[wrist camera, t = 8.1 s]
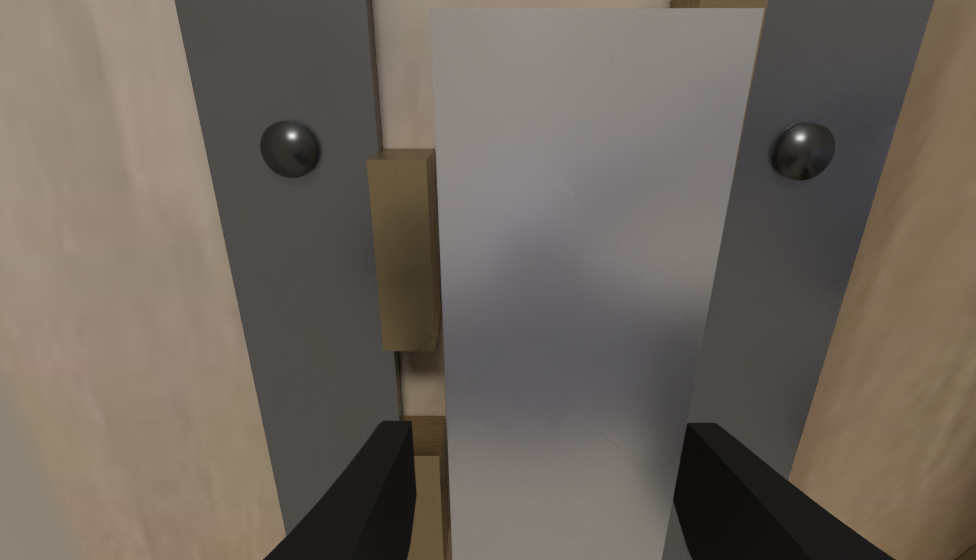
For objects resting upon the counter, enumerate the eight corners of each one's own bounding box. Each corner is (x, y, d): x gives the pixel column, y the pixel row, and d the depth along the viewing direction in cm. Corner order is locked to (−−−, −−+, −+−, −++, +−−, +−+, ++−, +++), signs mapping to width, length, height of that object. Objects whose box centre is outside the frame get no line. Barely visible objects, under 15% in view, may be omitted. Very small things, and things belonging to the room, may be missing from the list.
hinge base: (932, -59, 10) (1011, -83, 8) (735, 614, 17) (758, 665, 16) (175, -61, 10) (120, -86, 8) (310, 611, 17) (293, 661, 16)
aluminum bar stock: (622, 44, 11) (764, 8, 5) (574, 564, 17) (616, 804, 11) (461, 44, 11) (430, 9, 5) (471, 563, 17) (462, 804, 11)
